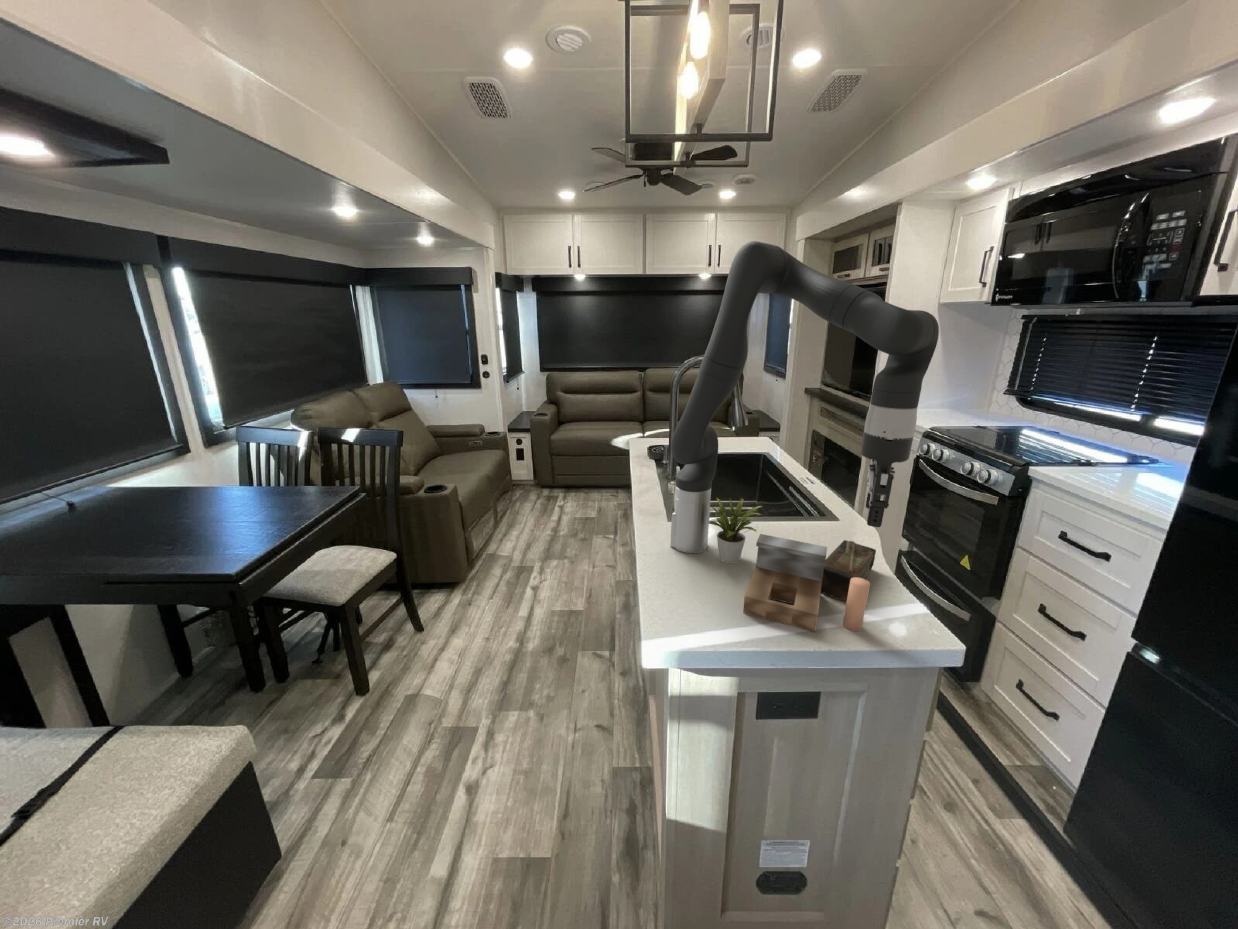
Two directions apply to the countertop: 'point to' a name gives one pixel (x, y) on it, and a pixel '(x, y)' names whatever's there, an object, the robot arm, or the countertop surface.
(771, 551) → the socket station
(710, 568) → the countertop surface
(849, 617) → the peg
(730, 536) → the house plant
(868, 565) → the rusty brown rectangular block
